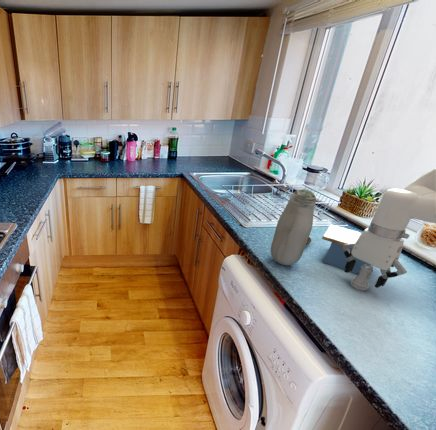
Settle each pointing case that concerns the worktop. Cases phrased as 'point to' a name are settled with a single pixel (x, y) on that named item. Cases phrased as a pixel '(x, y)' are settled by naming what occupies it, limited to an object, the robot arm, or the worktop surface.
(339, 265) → the blue box
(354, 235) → the board
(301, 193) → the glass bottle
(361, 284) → the rook chess piece
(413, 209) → the robot arm
